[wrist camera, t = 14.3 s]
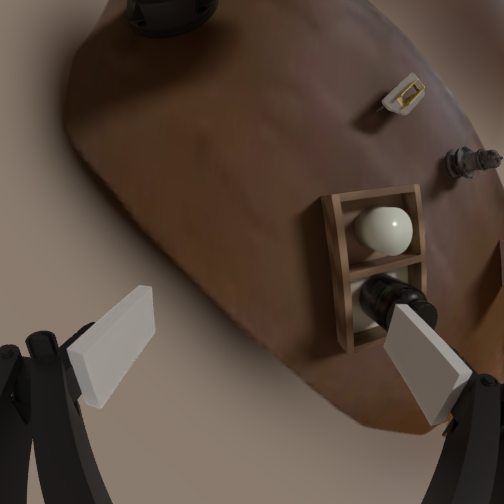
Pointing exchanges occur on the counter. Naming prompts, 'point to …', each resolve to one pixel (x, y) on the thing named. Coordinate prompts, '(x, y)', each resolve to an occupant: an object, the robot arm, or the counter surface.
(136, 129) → the counter surface
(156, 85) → the counter surface
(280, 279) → the counter surface
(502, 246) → the greeting card
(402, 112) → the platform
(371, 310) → the supplement bottle
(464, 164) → the salt shaker
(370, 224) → the pale green dome
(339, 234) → the caddy
